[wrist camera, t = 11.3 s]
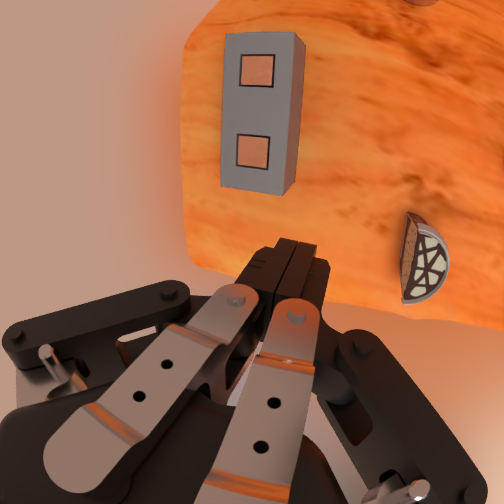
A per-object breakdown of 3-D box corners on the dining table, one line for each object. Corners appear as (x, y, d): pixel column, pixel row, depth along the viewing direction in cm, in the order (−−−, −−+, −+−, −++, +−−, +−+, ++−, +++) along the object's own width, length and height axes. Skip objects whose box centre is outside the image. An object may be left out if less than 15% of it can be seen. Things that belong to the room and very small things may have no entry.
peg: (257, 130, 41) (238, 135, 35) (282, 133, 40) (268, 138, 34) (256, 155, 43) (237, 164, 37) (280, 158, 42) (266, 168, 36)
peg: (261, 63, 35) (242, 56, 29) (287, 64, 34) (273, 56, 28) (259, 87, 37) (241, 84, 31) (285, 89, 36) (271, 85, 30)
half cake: (428, 274, 42) (439, 310, 34) (396, 270, 44) (402, 307, 36) (442, 207, 36) (461, 234, 28) (407, 203, 38) (420, 228, 30)
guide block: (247, 44, 34) (225, 33, 28) (305, 45, 32) (294, 32, 26) (241, 173, 46) (220, 186, 39) (294, 181, 43) (282, 196, 37)
